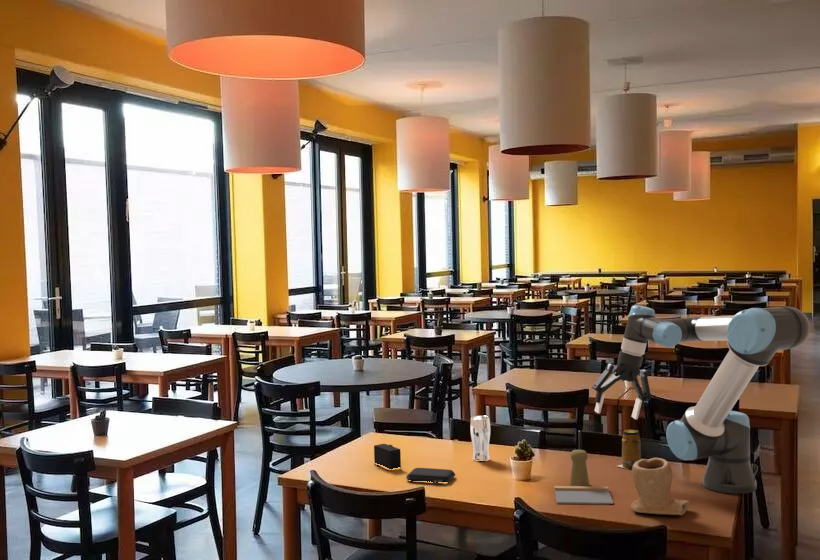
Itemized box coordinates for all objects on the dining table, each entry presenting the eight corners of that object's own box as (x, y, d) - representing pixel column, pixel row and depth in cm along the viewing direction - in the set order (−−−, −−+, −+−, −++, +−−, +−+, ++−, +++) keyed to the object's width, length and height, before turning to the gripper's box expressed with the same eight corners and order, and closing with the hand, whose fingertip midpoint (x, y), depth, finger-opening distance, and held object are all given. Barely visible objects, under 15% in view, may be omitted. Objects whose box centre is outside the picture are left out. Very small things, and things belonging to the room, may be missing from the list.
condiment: (629, 462, 270) (628, 427, 269) (650, 467, 263) (650, 431, 263) (616, 466, 265) (615, 431, 265) (638, 471, 259) (637, 435, 258)
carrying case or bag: (403, 484, 253) (448, 487, 248) (403, 475, 253) (447, 478, 248) (413, 475, 263) (456, 478, 258) (413, 466, 263) (456, 468, 258)
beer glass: (494, 458, 279) (493, 416, 279) (485, 463, 273) (484, 420, 273) (476, 456, 283) (475, 414, 282) (467, 461, 277) (466, 418, 276)
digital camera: (404, 468, 270) (403, 448, 270) (390, 471, 267) (390, 450, 267) (387, 462, 279) (387, 442, 278) (374, 465, 276) (373, 445, 275)
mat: (554, 489, 242) (554, 485, 242) (607, 490, 240) (607, 486, 240) (556, 503, 229) (556, 499, 229) (613, 504, 227) (613, 500, 227)
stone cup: (627, 517, 216) (626, 463, 215) (633, 503, 227) (633, 452, 226) (686, 523, 210) (685, 467, 209) (689, 509, 221) (689, 456, 220)
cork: (590, 483, 247) (589, 448, 247) (588, 489, 242) (587, 453, 241) (571, 481, 249) (570, 447, 249) (568, 487, 244) (567, 452, 243)
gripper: (659, 356, 262) (644, 416, 265) (592, 343, 256) (576, 406, 259) (671, 361, 255) (655, 424, 257) (602, 349, 249) (586, 413, 252)
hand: (615, 415), depth 258 cm, fingers open, 13 cm apart
